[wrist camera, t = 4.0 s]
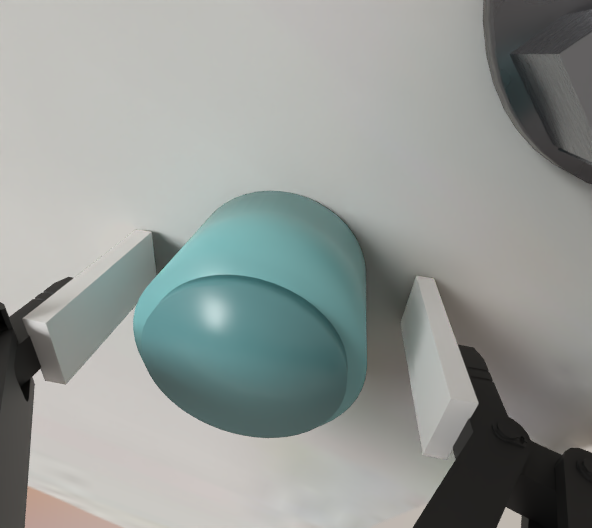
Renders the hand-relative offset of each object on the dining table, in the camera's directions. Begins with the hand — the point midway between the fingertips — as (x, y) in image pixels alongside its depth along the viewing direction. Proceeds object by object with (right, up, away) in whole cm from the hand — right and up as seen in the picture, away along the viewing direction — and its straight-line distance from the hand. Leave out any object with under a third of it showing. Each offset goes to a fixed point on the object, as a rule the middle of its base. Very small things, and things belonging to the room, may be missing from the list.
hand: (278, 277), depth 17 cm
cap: (0, 0, 0) cm, 0 cm away
